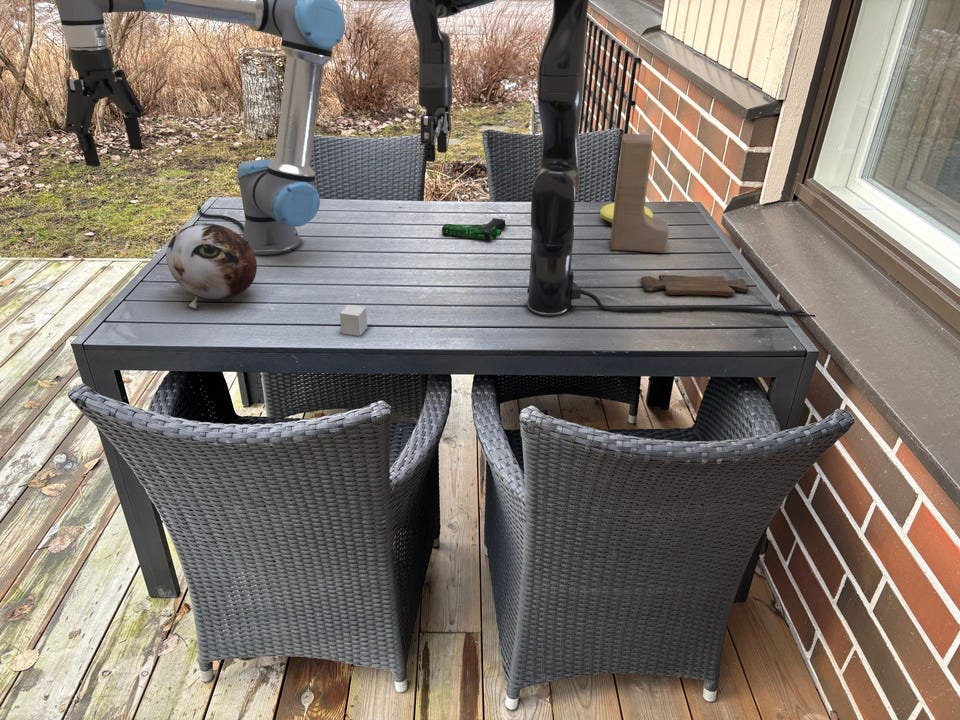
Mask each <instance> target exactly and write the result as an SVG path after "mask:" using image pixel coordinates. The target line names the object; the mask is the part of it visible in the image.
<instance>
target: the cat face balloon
mask: <svg viewBox="0 0 960 720" xmlns="http://www.w3.org/2000/svg"><path fill="white" fill-rule="evenodd" d="M248 242H249V241H246V240H245V239H244V238H243V236H242V235H240V234H239V233H238V232H236V231H234V230H233V229H231V228H229V227H226V226H223V225H220V224H215V223H205V222H204V223H195V224H191V225H188V226H186V227H183V228H182V229H180V230H179V231H177V232H176V233H175V234H174V235H173V237H171V239H170V241H169V243H168V245H167V248H166V254H165V260H166V265H167V268H168V271H169V273H170V275H171V276H172V277H173V279H174V280H175V281H176V282H177V284H178V285H180V286H181V287H182V288H183V289H185V290H186V291H187V292H189V293H191V294H194V295H195V298H194V299H193V300H192V302H190V303H189V304H188V306H189V307H191V308H192V309H197V308H198V307H197V298H198V297H201V298H205V299H210V300H226V299H230V298H233V297H236V296H238V295H241V294H242V293H244V292H245V291H247V290H248V289H249V288H250V286H251V285H252V284H253V282H254V280H255V278H256V275H257V271H258V262H257V257H256V254H254V252H253V250H252V248H251V247H250V245H249V244H248Z"/></svg>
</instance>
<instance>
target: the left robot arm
mask: <svg viewBox="0 0 960 720" xmlns="http://www.w3.org/2000/svg"><path fill="white" fill-rule="evenodd" d="M54 1H55V5H56V8H57V12H58V15H59V20H60V23H61V24H60V25H61V29H62V33H63V36H64V40H65V45H66V47H68V48H70V49H69V51H68V55H69V59H70V64H71V66H72V67H71V68H72V69H73V70H74V71H76V72H77V75H78V77H77V79H76V78H67V79H66V88H67V102H66V114H65V131H66V132H68V133H72V134H75V136H76V138H77V142H78V145H79V146H78V147H79V148H80V150H81V151H82V154H83V158H84V162H85V165H86V166H88V167H100V166H101V163H100V162H101V161H100V158H99V154H98V151H97V147H96V143H95V139H94V135H93V132H89V130H90V127H91V123H92V119H93V115H94V112H95V108H96V104H98V103H99V101H100V100H103V99H105V98H109V100H111V102H112V103H113V104H114V105H115V106H116V107H117V108H118V110H120V111H121V112H122V113H123V115H124V116H125V117H123V123H124V128H125V132H126V137H127V140H128V144H129V149H130V150H137V151H138V150H139V151H142V150H144V145H143V141H142V137H141V127H140V122H139V119H140V118H142V116H143V113H144V108H143V106H142V104H141V102H140V101H139V99H138V96H137V95H136V94H135V92H134V90H133V89H132V86H131V85H130V84H129V82H128V80H127V77H126V73H125V70H124V69H121V68H120V69H119V68H115V61H114V57H113V53H112V49H111V48H109V47H108V46H109V45H110V41H109V37H108V33H107V29H106V25H105V22H106V21H105V19H104V14H112V13H139V12H146V13H155V14H163V15H169V16H176V17H185V18H193V19H198V20H199V19H200V20H206V21H212V22H213V21H214V22H220V23H221V22H222V23H229V24H236V25H244V26H247V27H248V28H249V29H250V30H251V31H253V32H260V33H264V34H268V35H272V36H275V37H278V38H281V45H280V47H281V48H280V49H282V51H283V52H284V54H285V57H286V58H285V59H286V60H285V70H284V78H283V85H282V94H281V104H280V111H279V112H280V113H279V120H278V127H277V128H278V129H277V136H276V137H277V138H276V144H275V145H276V147H275V155H274V158H266V159H256V160H252V161H251V160H250V161H247V162H243V163H240V164H239V166H238V167H237V180H238V184H239V190H240V196H241V202H242V203H241V204H242V208H243V212H244V213H243V215H244V219H245V220H244V225H243V223H242V222H241V221H239V220H237V219H236V218H233V217H231V216H227V215H222V214H209V213H204V212H203V211H202V206H200V205H198V206H197V207H196V208H197V211H198V214H199V215H200V216H202V217H205V218H216V219H225V220H228V221H231V222H233V223H235V224H237V225H238V226H239V227H240V228H241V230H242V231H243V235H242V237H243V238H244V239H245V240H246V241H249V242H248V244H249V245H250V247H251V248H252V250H253V252H254V254H255V256H256V255H257V256H275V255H281V254H282V255H283V254H285V253H289V252H291V251H293V250H296V249H297V248H298V247H299V246H300V244H301V241H300V235H299V233H298V229H297V227H302V226H305V225H307V224H309V223H310V222H311V221H312V220H313V219H314V218H315V217H316V215H317V214H318V212H319V209H320V205H321V197H320V195H319V194H320V193H319V192H318V191H317V189H316V187H315V182H316V181H315V180H316V172H315V171H314V169H313V168H312V166H311V164H312V156H313V148H314V143H315V134H316V126H317V119H318V110H319V104H320V96H321V89H322V81H323V75H324V74H323V73H324V67H325V65H326V64H327V63H328V62H329V61H331V60H332V56H333V50H334V47H336V46H337V44H338V43H340V42H341V40H342V39H343V37H344V34H345V29H346V21H345V20H346V19H345V16H344V12H343V10H342V8H341V6H340V4H339V3H338V2H337V0H54ZM138 118H139V119H138ZM200 209H201V210H200ZM199 210H200V211H199Z"/></svg>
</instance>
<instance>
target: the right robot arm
mask: <svg viewBox="0 0 960 720" xmlns="http://www.w3.org/2000/svg"><path fill="white" fill-rule="evenodd" d="M496 1H497V0H409V12H410V16H411V19H412V24H413V28H414V32H415V35H416V39H417V43H418V44H417V51H418V67H417V87H418V88H417V90H418V105H419V106H420V107H421V108H425V109H426V111H425V115H420V144H421V145H424V153H425V156H424V157H425V158H424V159H425V161H426V162H429V163H434V162H435V161H436V160H437V159H436V157H437V155H436V152H438V153H441V154H446V153H447V151H448V136H449V132H451V129H452V128H451V106H452V105H453V69H452V62H451V61H452V52H451V51H452V48H451V47H452V45H451V44H452V43H451V37H450V35H449V34H448V33H447V32H445V31H443V30H442V31H441V27H440V24H439V20H440V19H445V18H450V17H453V16H456V15H458V14H459V13H462V12H464V11H466V10H471V9H476V8H479V7H482V6H485V5H489V4H491V3H494V2H496ZM589 2H590V0H553V7H552V15H551V21H550V25H549V28H548V31H547V34H546V37H545V39H544V42H543V44H542V47H541V50H540V54H539V59H538V64H537V78H536V79H537V82H536V83H537V85H536V86H537V87H536V88H537V89H536V95H537V107H538V112H539V113H538V114H539V119H540V124H541V131H542V150H541V151H542V153H541V159H540V168H539V171H538V174H537V175H536V177H535V178H534V181H533V183H532V187H531V201H530V227H531V228H530V229H531V239H530V241H531V243H530V260H529V275H528V276H529V278H528V288H527V289H526V290H527V292H526V294H527V295H528V296H527V309H528V310H529V311H530V312H531V313H533V314H536V315H539V316H543V317H544V316H545V317H556V316H560V315H563V314H565V313H567V312H571V311H572V301H573V300H574V301H575V300H580V299H581V297H582V295H583V296H586V297H589V298H591V299H592V300H594V302H595V303H596V305H597V306H598V307H599V309H601V310H604V311H607V312H614V313H625V312H627V313H628V312H633V313H634V312H638V313H639V312H643V313H644V312H663V311H665V312H666V311H669V312H670V311H697V310H698V311H701V310H703V311H705V310H707V311H709V310H710V311H715V310H717V311H743V312H754V313H755V312H757V313H768V314H777V315H791V316H792V315H800V314H806V313H805V312H802V310H801V309H802V308H799V309H784V310H785V311H786V312H785V311H778V308H768V307H756V306H755V307H753V306H740V305H708V304H707V305H701V304H700V305H670V306H669V305H668V306H647V307H645V306H643V307H641V306H639V307H638V306H637V307H636V306H635V307H633V306H630V307H627V306H625V307H612V306H608V305H606V304H603V303H602V302H601V300H600V299H599V297H598V296H597V295H595V294H593V293H592V292H590V291H587V290H584V289H582V288H581V287H580V286H579V285H578V284H577V283H576V282H575V281H574V278H575V275H574V274H575V273H574V271H573V270H572V259H573V247H574V237H575V225H574V223H575V221H574V219H575V209H576V208H575V207H576V197H577V193H578V191H579V188H580V168H579V167H580V166H579V151H578V150H579V149H578V148H579V147H578V144H579V143H578V138H579V130H580V123H581V116H582V109H583V108H582V107H583V99H584V89H585V88H584V86H585V60H586V59H585V57H586V44H587V43H586V42H587V41H586V40H587V23H588V22H587V19H588V11H589V4H590V3H589ZM436 149H437V150H436Z"/></svg>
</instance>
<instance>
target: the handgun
mask: <svg viewBox="0 0 960 720" xmlns="http://www.w3.org/2000/svg"><path fill="white" fill-rule="evenodd" d="M505 228H506V220H505V219H503V218H497V217H492V219H491V220H490V221H489V222H488V223H483V224H482V225H479V224H472V225H459V224H453V223H445V224H443V226H442V227H441V235H446V236H454V237H462V238H469V239H470V238H471V239H474V240H479V241H484V242H491V241H492V240H494V239H495V238H497V237H500V236H502V230H504V229H505Z"/></svg>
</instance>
